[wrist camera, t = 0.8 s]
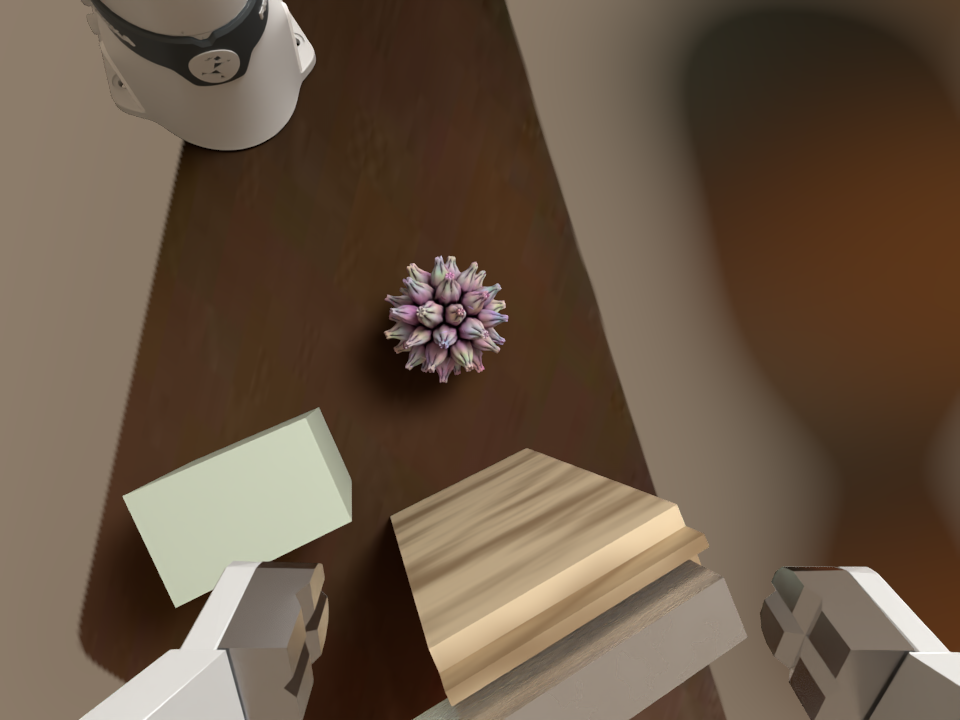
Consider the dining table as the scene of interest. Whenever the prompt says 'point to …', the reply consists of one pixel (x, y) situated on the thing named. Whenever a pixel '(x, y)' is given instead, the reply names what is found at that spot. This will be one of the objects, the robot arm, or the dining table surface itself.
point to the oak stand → (529, 561)
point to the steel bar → (616, 656)
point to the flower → (446, 318)
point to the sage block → (243, 504)
